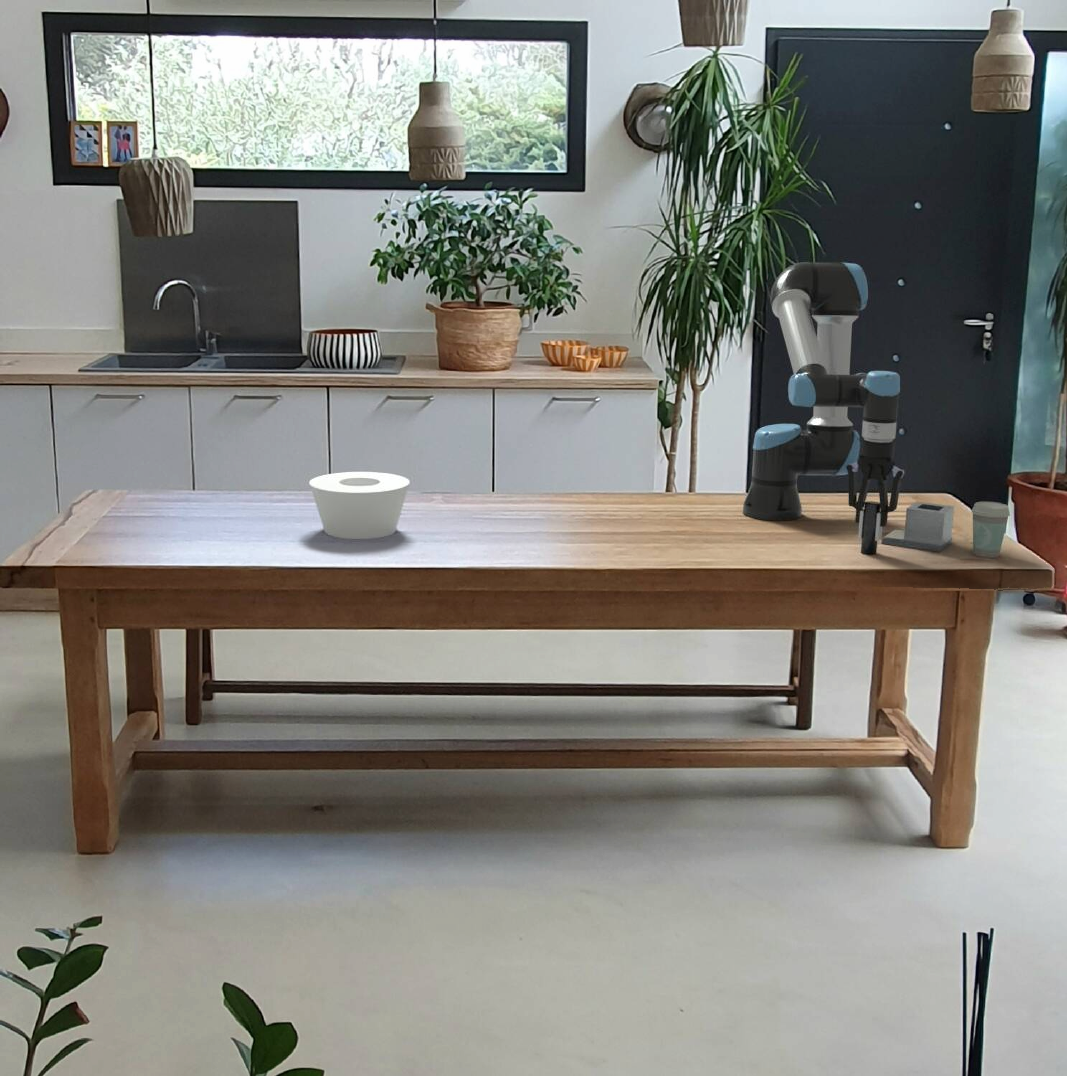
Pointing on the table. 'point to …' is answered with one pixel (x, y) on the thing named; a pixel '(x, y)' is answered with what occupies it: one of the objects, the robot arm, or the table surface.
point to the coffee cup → (989, 528)
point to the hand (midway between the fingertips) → (869, 538)
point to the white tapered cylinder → (359, 503)
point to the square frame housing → (924, 528)
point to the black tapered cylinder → (869, 528)
